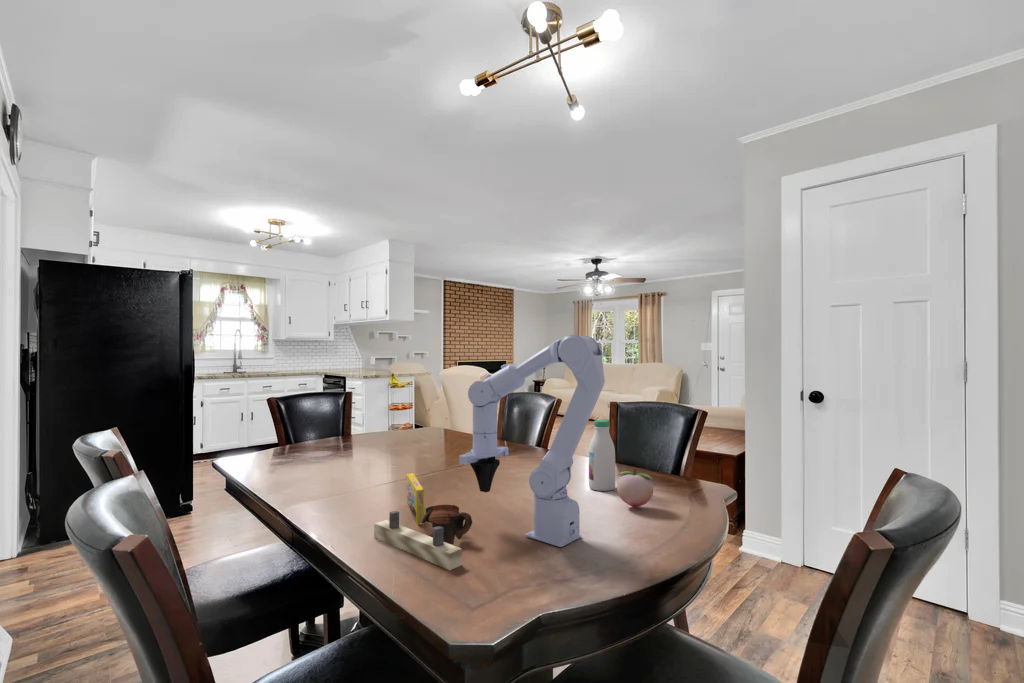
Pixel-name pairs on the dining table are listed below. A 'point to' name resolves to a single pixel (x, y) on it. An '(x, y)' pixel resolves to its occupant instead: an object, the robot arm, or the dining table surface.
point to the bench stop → (419, 542)
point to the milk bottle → (602, 458)
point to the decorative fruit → (635, 488)
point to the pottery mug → (448, 521)
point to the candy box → (415, 497)
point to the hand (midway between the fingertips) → (484, 491)
